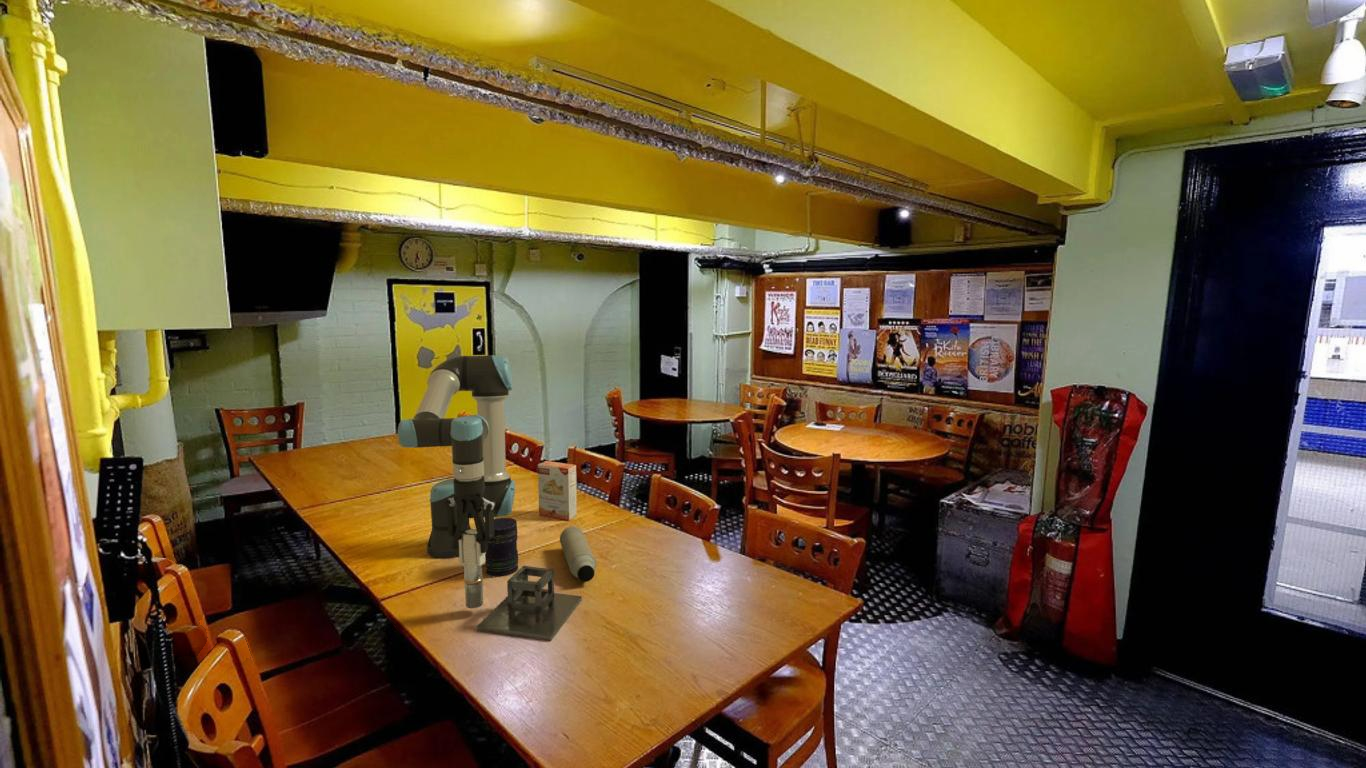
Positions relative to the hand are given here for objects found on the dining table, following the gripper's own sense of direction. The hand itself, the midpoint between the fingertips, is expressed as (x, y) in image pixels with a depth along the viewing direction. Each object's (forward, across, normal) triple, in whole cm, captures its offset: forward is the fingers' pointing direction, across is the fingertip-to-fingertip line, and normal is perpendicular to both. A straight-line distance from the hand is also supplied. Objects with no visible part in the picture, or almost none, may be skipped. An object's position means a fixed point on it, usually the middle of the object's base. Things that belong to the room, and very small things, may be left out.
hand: (472, 562), depth 151 cm
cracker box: (+15, -8, +70) cm, 73 cm away
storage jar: (+15, -6, +24) cm, 29 cm away
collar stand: (+14, +15, +2) cm, 21 cm away
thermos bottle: (+11, +9, +44) cm, 46 cm away
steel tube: (+12, 0, 0) cm, 12 cm away
